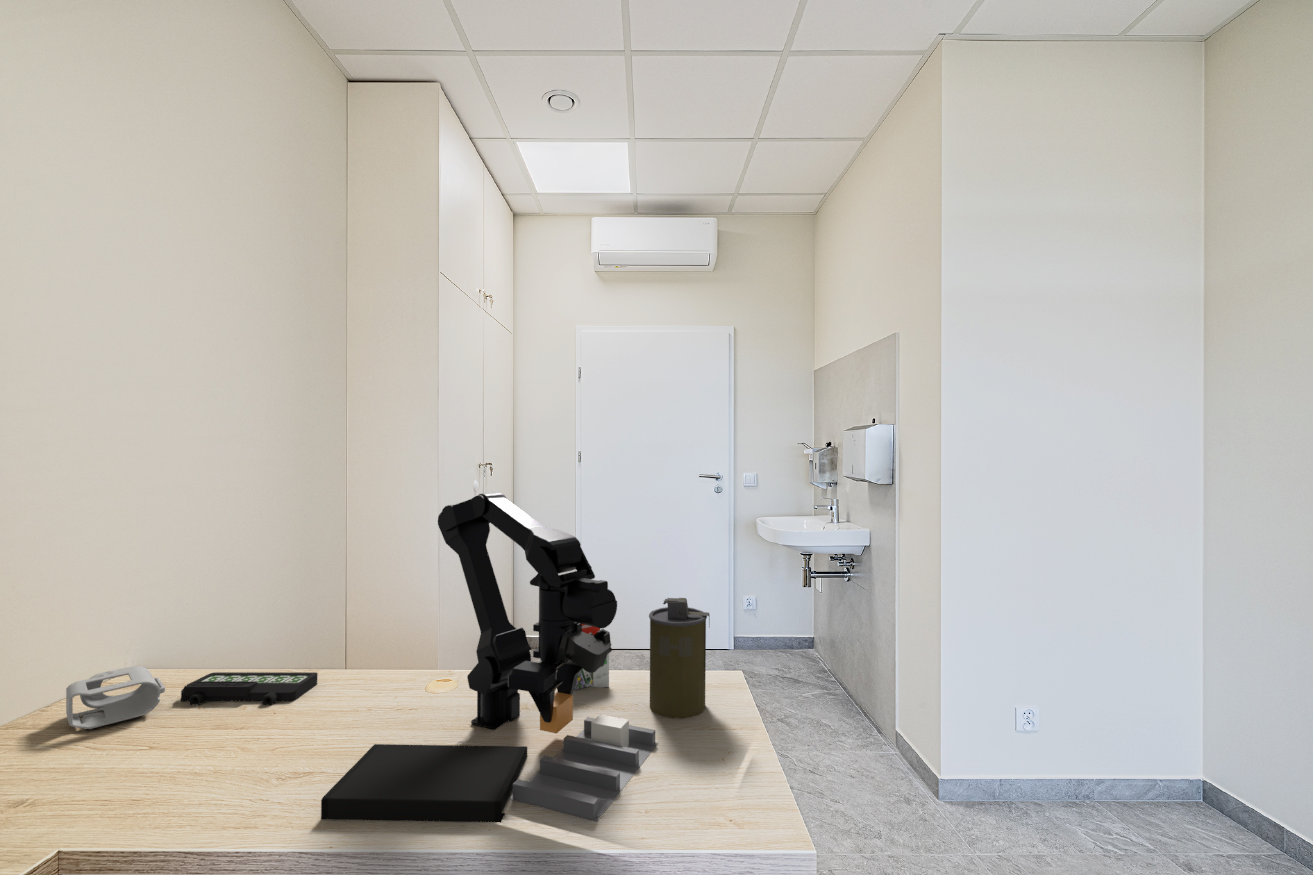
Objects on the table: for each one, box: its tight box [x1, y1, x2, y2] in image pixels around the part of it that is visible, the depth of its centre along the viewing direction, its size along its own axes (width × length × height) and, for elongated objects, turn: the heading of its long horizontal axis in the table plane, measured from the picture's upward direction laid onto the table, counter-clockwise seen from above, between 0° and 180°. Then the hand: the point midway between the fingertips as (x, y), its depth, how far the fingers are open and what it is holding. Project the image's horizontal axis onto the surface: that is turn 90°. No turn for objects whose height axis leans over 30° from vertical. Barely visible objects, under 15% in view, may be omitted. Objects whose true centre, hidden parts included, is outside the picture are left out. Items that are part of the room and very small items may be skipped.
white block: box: [591, 714, 630, 747], centre depth 94 cm, size 5×3×4 cm, turn 69°
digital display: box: [180, 671, 319, 706], centre depth 115 cm, size 21×3×10 cm
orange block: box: [539, 691, 574, 734], centre depth 96 cm, size 5×3×4 cm, turn 159°
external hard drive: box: [320, 743, 528, 823], centre depth 84 cm, size 14×23×3 cm, turn 89°
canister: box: [648, 597, 711, 720], centre depth 109 cm, size 11×10×20 cm
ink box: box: [573, 624, 610, 692], centre depth 119 cm, size 4×8×15 cm, turn 123°
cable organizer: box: [65, 665, 166, 730], centre depth 107 cm, size 7×12×12 cm
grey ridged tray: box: [508, 716, 659, 823], centre depth 88 cm, size 13×21×3 cm, turn 159°
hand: (556, 714), depth 96 cm, fingers closed on orange block, 5 cm apart
